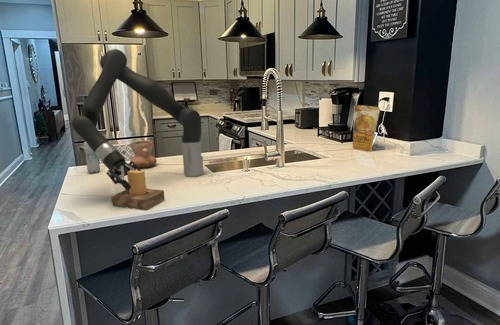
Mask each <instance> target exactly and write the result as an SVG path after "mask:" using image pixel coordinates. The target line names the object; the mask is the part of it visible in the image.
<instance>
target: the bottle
mask: <svg viewBox="0 0 500 325" xmlns="http://www.w3.org/2000/svg"><path fill="white" fill-rule="evenodd" d="M83 150H84V151H83V152H84V153H85V159H86V160H85V161H86V168H87V170H86V171H87V172H88V173H89V174H94V173H95V174H97V173H100V171H101V167H100V166H101V164H100V162H99V161H100V159H99V158H98V156H97V155H96V154H95V152H94V151H93V150H92V149H91V148H90V147H89V145H88V144H87V143H86V141H84V142H83Z"/></svg>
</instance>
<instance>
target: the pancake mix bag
mask: <svg viewBox="0 0 500 325" xmlns="http://www.w3.org/2000/svg"><path fill="white" fill-rule="evenodd" d="M380 112H381V108H380V107H379V106H372V105H362V104H356V105H354V106H353V126H352V127H353V130H352V132H353V137H352V148H353V149H355V150H358V151H363V152H373V148H372V146H373V143H374V140H375V135H376V130H377V126H378V122H379V117H380V114H381V113H380Z"/></svg>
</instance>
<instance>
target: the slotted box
mask: <svg viewBox="0 0 500 325" xmlns="http://www.w3.org/2000/svg"><path fill="white" fill-rule="evenodd" d="M146 190H147V194H146V195H144V196H138V195H130V194H129V190H126V189H124V190H122V191H120V192H118V193H115V194H114V195H111V202H112V206H113V207H117V206H118V208H125V207H128V208H127V209H133V208H135V210H143V211H148V210H149V208H150V209H151V208H153V207H155V206H156V205H157V204H160V203H162V202H163V201H165V200H166V199H165V192H164V191H165V190H163V189H156V188H154V189H153V188H146ZM164 199H165V200H164ZM159 202H160V203H159ZM154 205H155V206H154Z"/></svg>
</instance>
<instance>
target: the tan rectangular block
mask: <svg viewBox="0 0 500 325" xmlns="http://www.w3.org/2000/svg"><path fill="white" fill-rule="evenodd" d="M126 176H127V182H128V183H129V184H130V186H131V188H130V189H129V194H130V195H138V196H144V195H146V194H147V190H146V189H147V182H146V174H145V170H141V171H138V170H137V169H136V170H130V171H129V172H127V175H126Z"/></svg>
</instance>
